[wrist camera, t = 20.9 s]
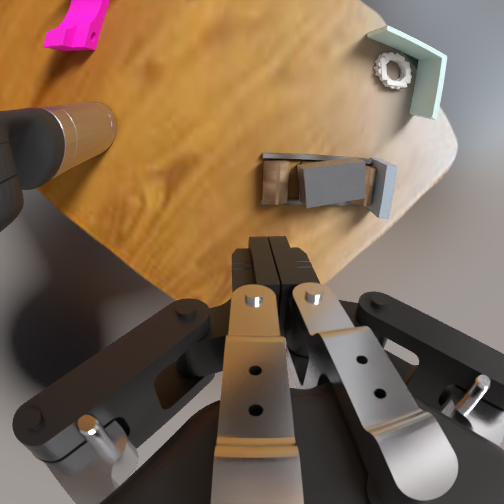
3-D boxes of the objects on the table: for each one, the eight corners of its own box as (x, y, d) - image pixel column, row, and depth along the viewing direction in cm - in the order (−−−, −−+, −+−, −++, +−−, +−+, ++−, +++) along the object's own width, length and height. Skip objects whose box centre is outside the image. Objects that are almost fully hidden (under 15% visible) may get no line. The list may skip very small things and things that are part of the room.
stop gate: (364, 205, 52) (378, 218, 47) (371, 157, 48) (387, 165, 42) (373, 206, 52) (388, 218, 47) (380, 158, 48) (397, 166, 42)
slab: (300, 201, 46) (306, 208, 44) (297, 164, 43) (303, 169, 41) (356, 192, 47) (365, 198, 44) (355, 157, 44) (365, 161, 42)
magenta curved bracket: (95, 50, 35) (75, 44, 29) (65, 51, 34) (43, 47, 27) (119, -25, 29) (104, -41, 22) (88, -22, 27) (70, -35, 21)
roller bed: (261, 202, 50) (263, 210, 47) (262, 152, 46) (265, 157, 43) (364, 204, 52) (373, 212, 48) (370, 159, 48) (381, 164, 44)
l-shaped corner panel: (366, 33, 37) (387, 25, 31) (422, 58, 39) (447, 56, 32) (355, 94, 43) (375, 94, 36) (412, 115, 44) (436, 120, 38)
